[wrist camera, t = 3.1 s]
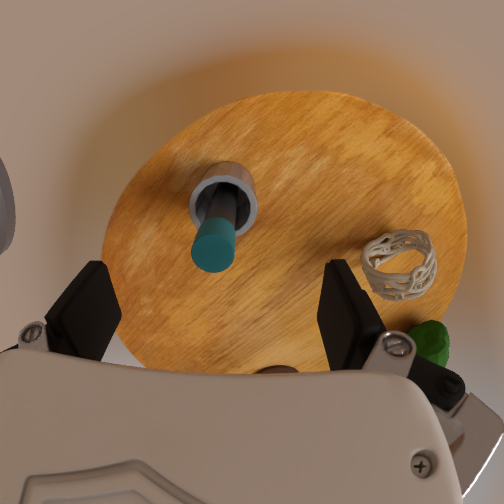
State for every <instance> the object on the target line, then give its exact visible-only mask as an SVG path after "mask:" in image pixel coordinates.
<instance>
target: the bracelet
mask: <svg viewBox="0 0 504 504" xmlns="http://www.w3.org/2000/svg"><path fill="white" fill-rule="evenodd" d="M400 233H401V234H400ZM397 234H398V235H397ZM395 235H396V236H395ZM421 235H422V237H421ZM408 236H414V237H416V238H417V239H414V238H411V237H408ZM385 238H389V239H388V241H387V242H385V243H380V242H382V241H383V240H384V239H385ZM397 239H398V240H397ZM395 240H396V241H395ZM392 241H394V242H392ZM405 241H411V242H412V243H411V244H405ZM427 243H428V244H427ZM396 244H397V245H398V247H396V248H393V249H391V250H390V246H393V245H396ZM376 248H378V249H376ZM374 249H375V250H374ZM413 249H415V250H417V251H419V252H421V253H422V254H423V255H425V259H424V261H423V263H422V266H417V267H415V268H414V269H413V270H412V271H411V272H410V273H408V274H400V273H383V272H380V271H378V270H376V269H377V267H378V266H379V265H380V264H381V263H383V262H385V261H386V260H388V259H390V258H392V257H394V256H395V255H397V254H399V253H400V252H404V251H407V250H413ZM376 254H381V255H387V256H385V257H383V258H381V259H379V258H375V257H374V258H372V260H371V263H370V261H369V256H374V255H376ZM388 254H389V255H388ZM360 258H361V262H362V264H363V266H362V269H363V271H364V273H365V275H366V277H367V280H368V282H369V284H370V286H371V288H372V289H373V290H372V291H373V292H374V293H377V294H378V295H380V296H381V297H382V298H384V299H387V300H391V301H401V300H410V299H414V298H417V297H420V296H422V295H423V294H424V293H425V292H426V291H427V290H428V288H430V286H431V284H432V282H433V281H434V279H435V275H436V271H437V260H436V255H435V249H434V247H433V246H432V242H431V240H430V236H429V234H427V233H425V232H424V231H421V230H406V229H398V230H395V231H394V232H392V233H391V234H390V233H384V234H382V235H381V236H380V237H379V238H378V239H375V240H372V241H369V243H367V244H366V246H365V247H364V249H363V251H362V253H361V256H360ZM371 264H372V265H373V267H371ZM417 272H418V273H419V275H418V276H416V277H415V274H416V273H417ZM425 278H426V280H425V282H424V283H423V284H422V283H421V282H420V281H422V280H424V279H425ZM398 282H406V283H398ZM385 283H386V284H388V285H389V286H391V287H393V288H385V287H386V285H385ZM375 284H377V285H375ZM405 292H409V293H412V294H407V295H404V293H405ZM388 294H395V296H392V295H388Z"/></svg>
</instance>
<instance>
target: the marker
mask: <svg viewBox="0 0 504 504" xmlns="http://www.w3.org/2000/svg"><path fill="white" fill-rule="evenodd" d="M237 198H238V186H237V185H234V184H232V183H229V182H219V183H218V184H217V187H216V189H215V192H214V194H213V197H212V200H211V202H210V205H209V207H208V210H207V213H206V215H205V218H204V221H203V223H202V224H201V225H200V227H199V229H198V232H197V235H196V237H195V240H194V243H193V245H192V249H191V256H192V259H193V261H194V263H195V264H196V265H197V266H198V267H199V268H200V269H202V270H204V271H206V272H211V273H217V272H221V271H224V270H225V269H227V268H228V267H229V266H230V265H231V264H232V262H233V260H234V253H235V239H236V232H235V219H236V208H237Z"/></svg>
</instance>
